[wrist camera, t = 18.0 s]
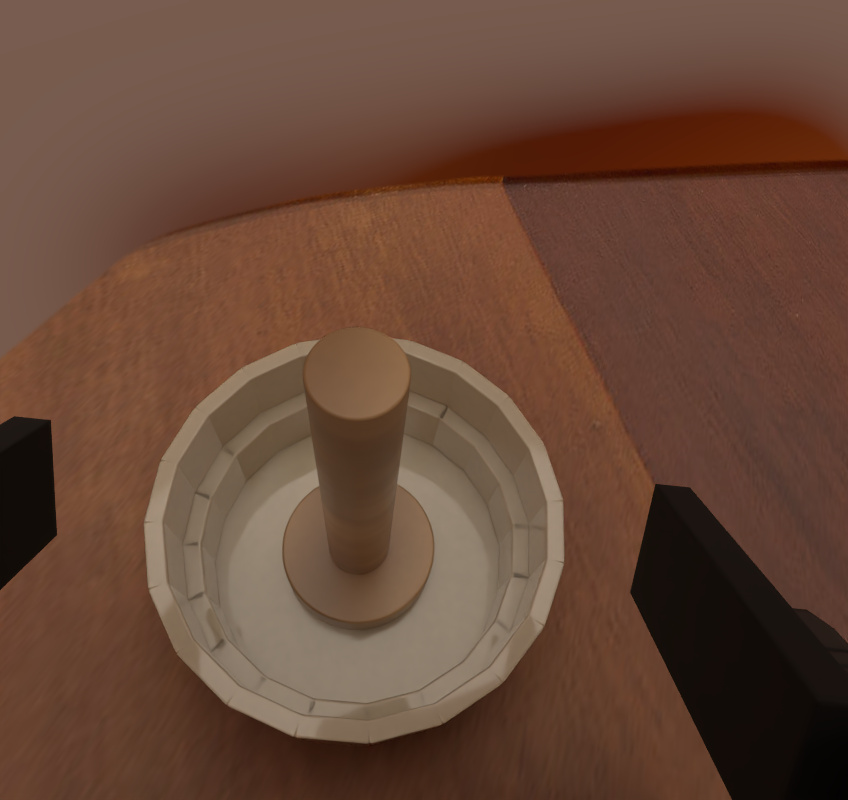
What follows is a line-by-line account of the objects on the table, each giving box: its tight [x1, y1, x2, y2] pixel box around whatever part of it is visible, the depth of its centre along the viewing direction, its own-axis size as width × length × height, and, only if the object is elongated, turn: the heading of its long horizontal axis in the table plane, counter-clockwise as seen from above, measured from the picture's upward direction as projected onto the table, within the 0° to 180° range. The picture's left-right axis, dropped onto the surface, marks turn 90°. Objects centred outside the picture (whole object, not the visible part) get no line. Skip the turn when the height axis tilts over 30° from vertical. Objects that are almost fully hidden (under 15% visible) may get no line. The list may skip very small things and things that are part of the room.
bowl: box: [144, 338, 565, 746], centre depth 25 cm, size 13×13×6 cm
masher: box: [282, 327, 434, 630], centre depth 21 cm, size 6×6×14 cm
